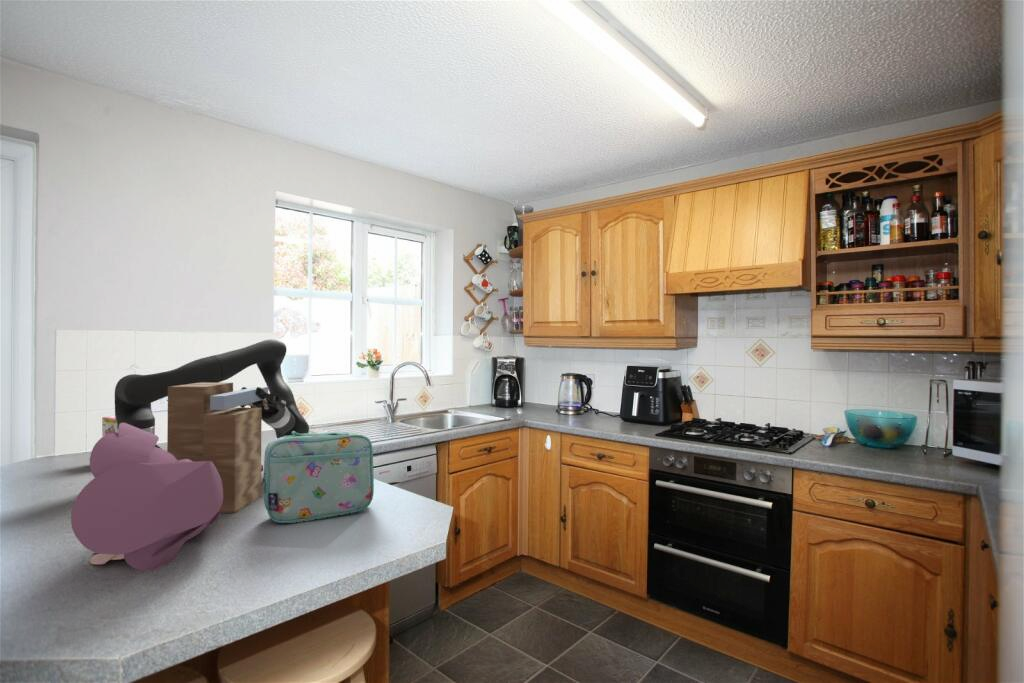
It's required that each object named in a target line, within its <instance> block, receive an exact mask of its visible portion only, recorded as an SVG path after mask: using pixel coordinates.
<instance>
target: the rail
mask: <svg viewBox="0 0 1024 683" xmlns="http://www.w3.org/2000/svg"><path fill="white" fill-rule="evenodd" d="M257 387H258V386H253V387H248V388H247V389H243V390H241V389H238V390H233V392H228V393H223V394H218V395H213V396H210V410H227V409H230V408H239V407H240V406H242V405H245V404H249V403H253V402H257V401H261V400H262V399H260V398H259V397H258V396H257V395H256V388H257ZM259 387H260V388H261V389H263V390H264V391H265V392H268V393H269V389H268V387H267V386H259Z"/></svg>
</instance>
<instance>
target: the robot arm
mask: <svg viewBox="0 0 1024 683" xmlns="http://www.w3.org/2000/svg"><path fill="white" fill-rule="evenodd" d="M286 354H287V346H286V344H285V343H284V342H283V341H282V340H278V339H275V338H269V339H265V340H262V341H259V342H256V343H253V344H250V345H248V346H244V347H241V348H238V349H234V350H230V351H227V352H222V353H219V354H214V355H213V354H212V355H209V356H206V357H200V358H197V359H195V360H192V361H190V362H188V363H185V364H183V365H181V366H179V367H176V368H173V369H171V370H167V371H162V372H157V373H150V374H138V373H137V374H136V373H134V374H133V373H132V374H128V375H125V376H123V377H121V378H120V379H119V380H118V381H117V382H116V385H115V387H114V416H115V418H116V421H117V433H118V429H119V424H120V423H127V424H129V425H132V426H134V427H137V428H139V429H142V430H144V431H147V432H149V433H152V434H154V435H156V419H155V418H156V417H155V416H154V414H153V411H152V403H154V402H156V401H159V400H161V399H164V398H166V397H167V398H168V387H171V386H178V385H186V384H193V383H201V382H208V383H223V382H225V381H227V380H229V379H231V378H232V377H234V376H236V375H237V374H239V373H240V372H242V371H243V370H244V371H245V369H247V368H249V367H251V366H253V365H256V366H257V368H258V370H259V372H260V375H261V377H262V378H263V380H264V382H265V383H266V384H265V385H266V387H268V392H265V391H264V390H263V389H261V388H260V387H261V386H256V387H257V388H256V395H257V396H258V397H259V398H260V399H262V400H261V401H257V402H253V403H249V404H245V405H242V406H239V408H246V406H249V408H262V421H263V422H264V423H265V424H266V425H268V426H269V427H271V428H272V429H273V430H274V432H275V436H276V439H277V438H280V437H284V436H290V435H293V434H292V431H295V432H297V433H299V434H306V433H309V432H310V425H309V422H307V420H306V419H305V418H304V417H303V415H302V414H301V412H300V410H299V409H298V406H297V403H296V399H295V397H294V394H293V391H292V389H291V388H290V387H289V385H288V384H287V383H286V382H285V379H284V377H283V375H282V363H283V361H284V359H285V357H286ZM243 389H248V388H247V387H245V386H242V387H241V388H240V390H243Z"/></svg>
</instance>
